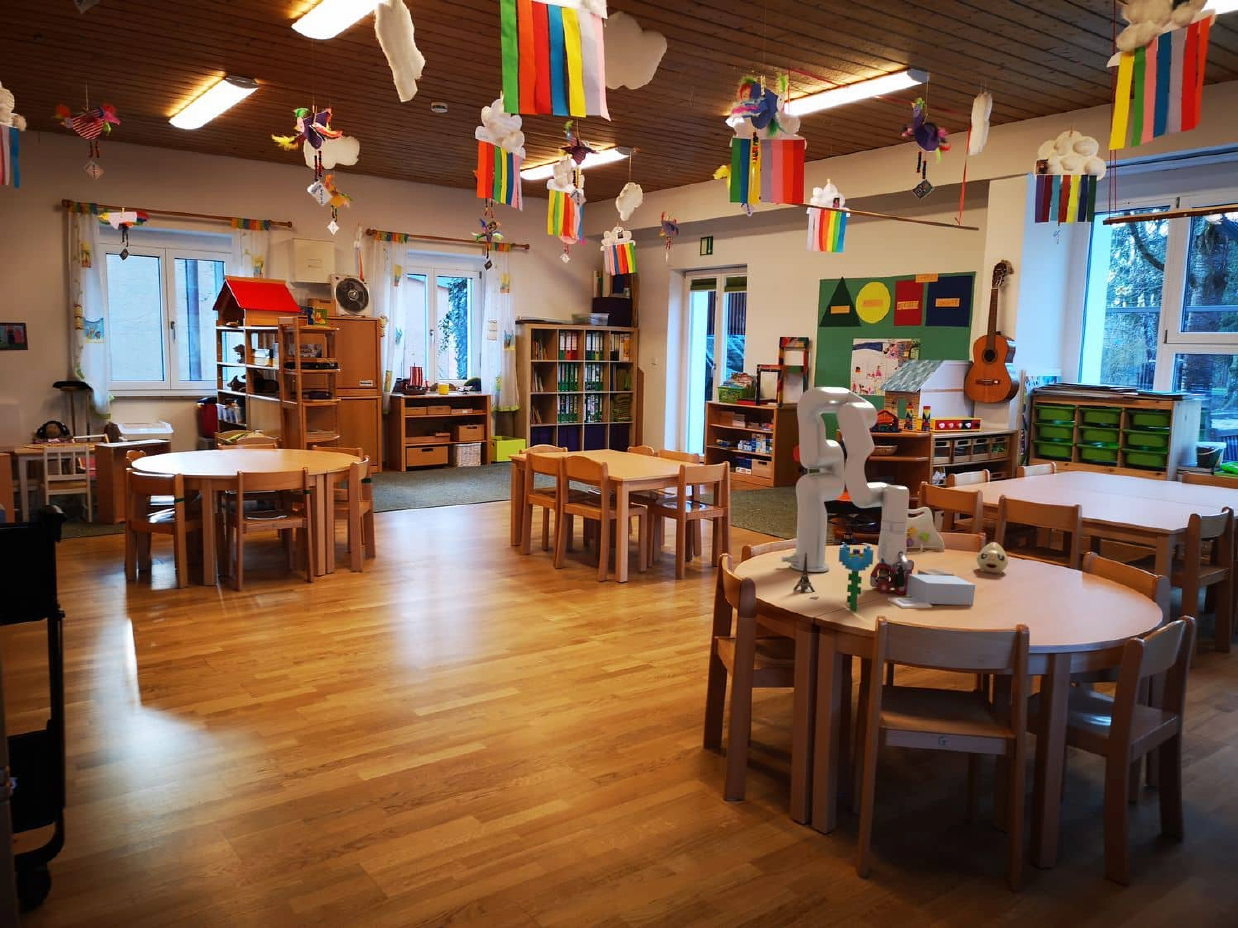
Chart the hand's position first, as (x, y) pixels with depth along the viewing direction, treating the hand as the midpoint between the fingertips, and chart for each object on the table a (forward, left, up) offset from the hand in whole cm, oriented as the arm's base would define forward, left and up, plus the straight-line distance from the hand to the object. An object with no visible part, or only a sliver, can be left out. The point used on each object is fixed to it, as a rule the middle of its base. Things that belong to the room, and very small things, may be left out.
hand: (890, 582), depth 267 cm
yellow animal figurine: (+47, +21, -3) cm, 52 cm away
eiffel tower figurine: (-27, +2, -4) cm, 27 cm away
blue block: (+10, -11, -2) cm, 15 cm away
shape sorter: (+35, +53, -3) cm, 64 cm away
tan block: (+15, +1, -3) cm, 15 cm away
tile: (-1, -14, -3) cm, 14 cm away
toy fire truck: (0, 0, -3) cm, 3 cm away
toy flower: (-21, -19, -3) cm, 29 cm away
